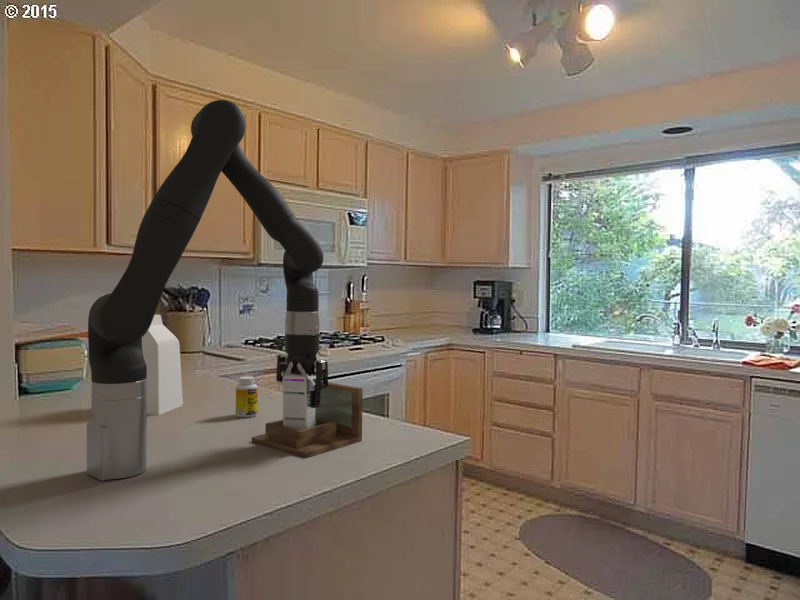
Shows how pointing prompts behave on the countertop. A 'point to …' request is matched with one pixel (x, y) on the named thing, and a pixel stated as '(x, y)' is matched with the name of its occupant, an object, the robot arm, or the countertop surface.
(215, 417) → the countertop surface
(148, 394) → the milk
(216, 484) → the countertop surface
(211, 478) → the countertop surface
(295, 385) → the syrup box
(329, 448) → the display stand
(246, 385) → the supplement bottle
